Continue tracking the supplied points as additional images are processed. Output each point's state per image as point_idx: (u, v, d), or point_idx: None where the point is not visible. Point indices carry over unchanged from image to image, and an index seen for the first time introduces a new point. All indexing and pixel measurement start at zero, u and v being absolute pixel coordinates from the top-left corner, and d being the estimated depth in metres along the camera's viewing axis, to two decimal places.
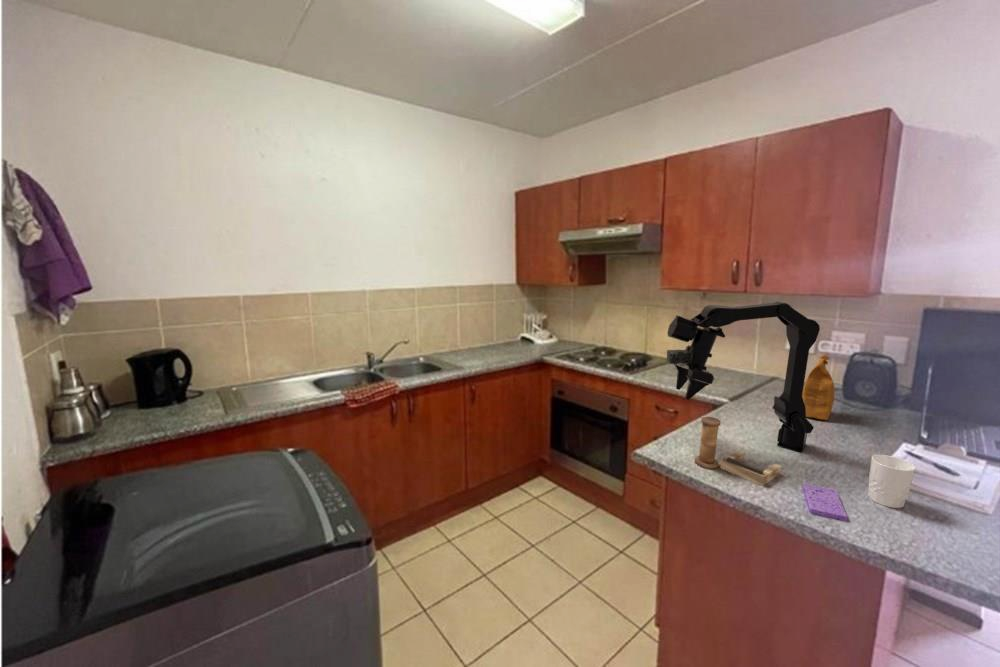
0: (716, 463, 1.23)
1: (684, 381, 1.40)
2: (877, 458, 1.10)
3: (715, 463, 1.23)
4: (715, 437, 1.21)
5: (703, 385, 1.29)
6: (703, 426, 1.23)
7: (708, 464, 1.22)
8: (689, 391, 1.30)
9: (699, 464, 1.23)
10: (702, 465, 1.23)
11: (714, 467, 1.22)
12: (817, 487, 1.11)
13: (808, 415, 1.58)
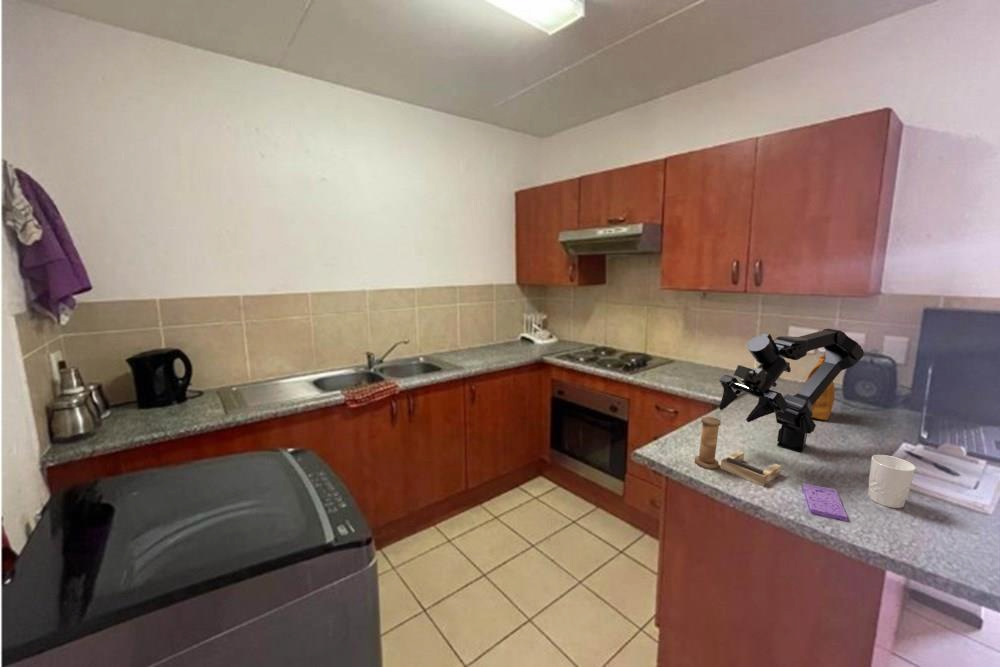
0: (716, 463, 1.23)
1: (728, 403, 1.30)
2: (877, 458, 1.10)
3: (715, 463, 1.23)
4: (715, 437, 1.21)
5: (769, 411, 1.20)
6: (703, 426, 1.23)
7: (708, 464, 1.22)
8: (755, 413, 1.20)
9: (699, 464, 1.23)
10: (702, 465, 1.23)
11: (714, 467, 1.22)
12: (817, 487, 1.11)
13: None
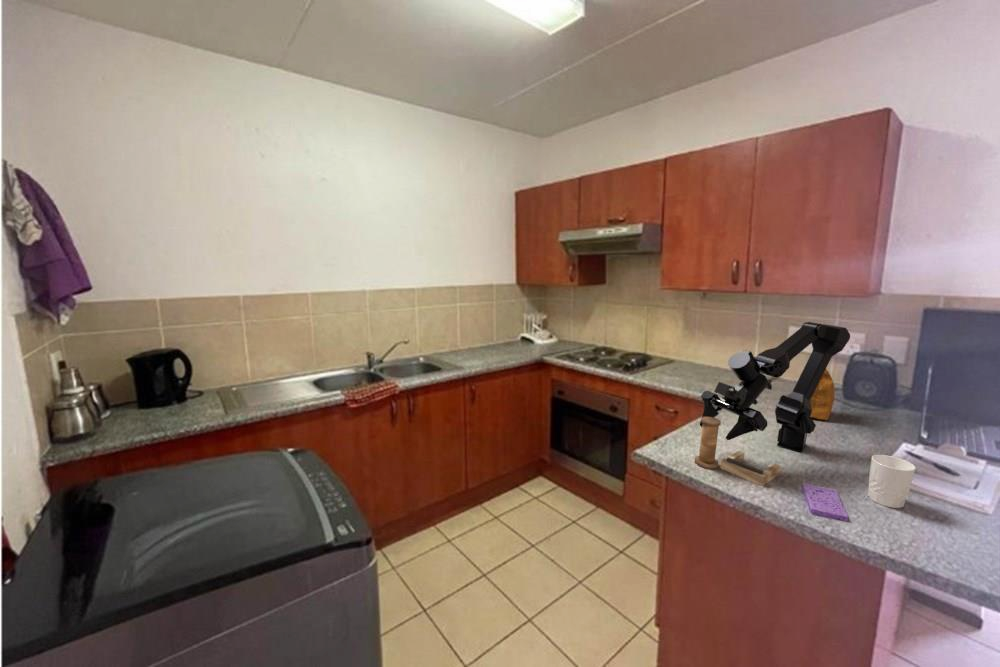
0: (716, 463, 1.23)
1: None
2: (877, 458, 1.10)
3: (715, 463, 1.23)
4: (715, 437, 1.22)
5: (749, 430, 1.19)
6: (703, 426, 1.23)
7: (708, 464, 1.22)
8: (734, 431, 1.19)
9: (699, 464, 1.23)
10: (702, 465, 1.23)
11: (714, 467, 1.22)
12: (817, 487, 1.11)
13: None
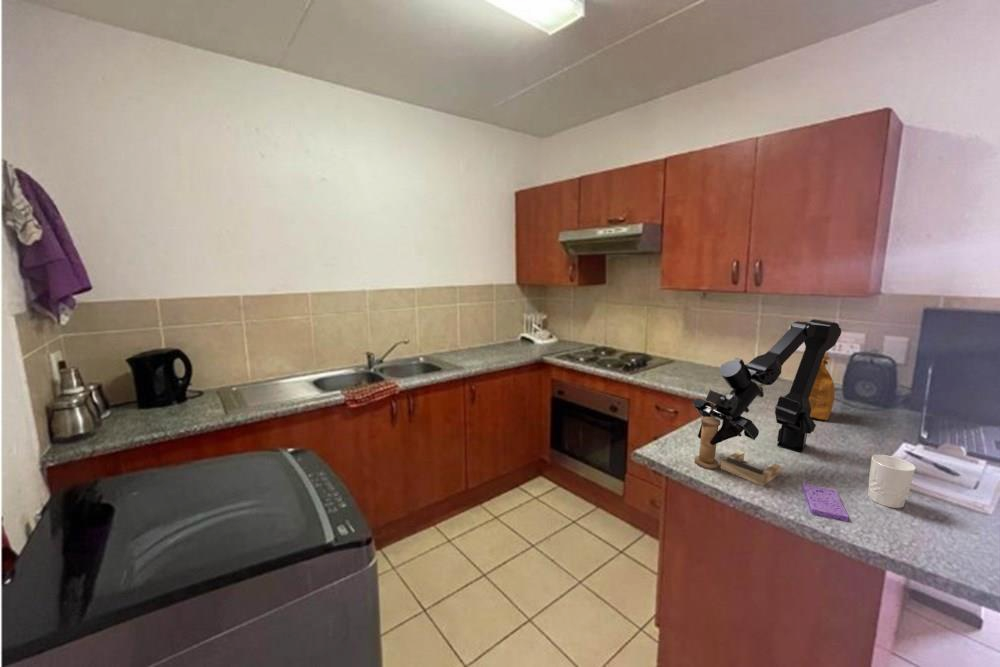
0: (716, 463, 1.23)
1: None
2: (877, 458, 1.10)
3: (715, 463, 1.23)
4: None
5: (733, 435, 1.21)
6: (703, 426, 1.23)
7: (708, 464, 1.22)
8: (718, 436, 1.20)
9: (699, 464, 1.23)
10: (702, 465, 1.23)
11: (714, 467, 1.22)
12: (817, 487, 1.11)
13: None
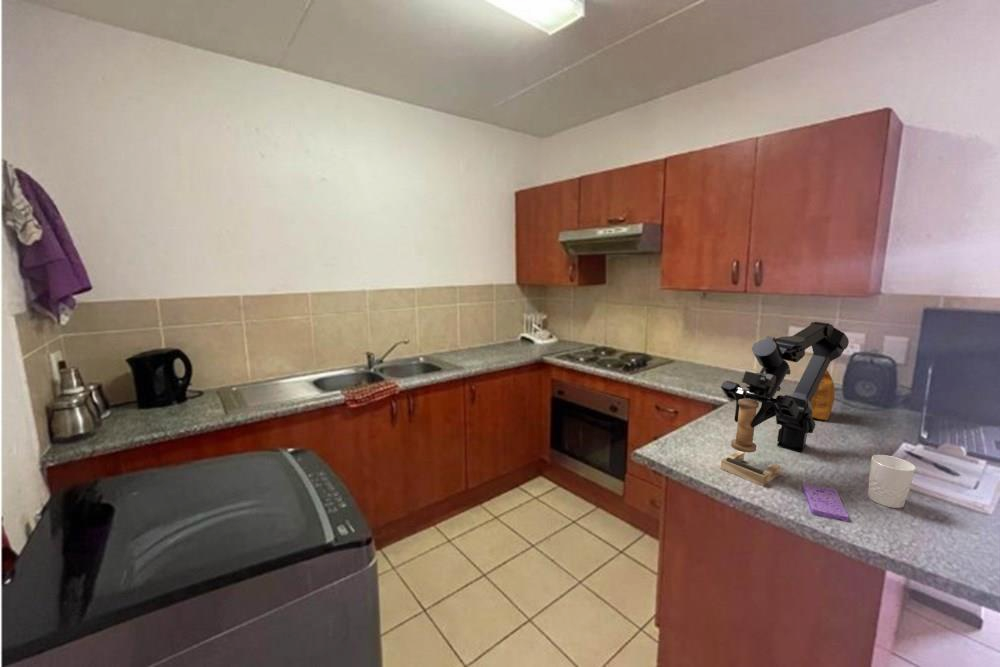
0: (754, 445, 1.20)
1: None
2: (877, 458, 1.10)
3: (753, 446, 1.20)
4: None
5: (771, 415, 1.18)
6: (741, 409, 1.18)
7: (748, 447, 1.19)
8: (759, 418, 1.17)
9: (739, 448, 1.19)
10: (742, 449, 1.19)
11: (754, 450, 1.19)
12: (817, 487, 1.11)
13: None
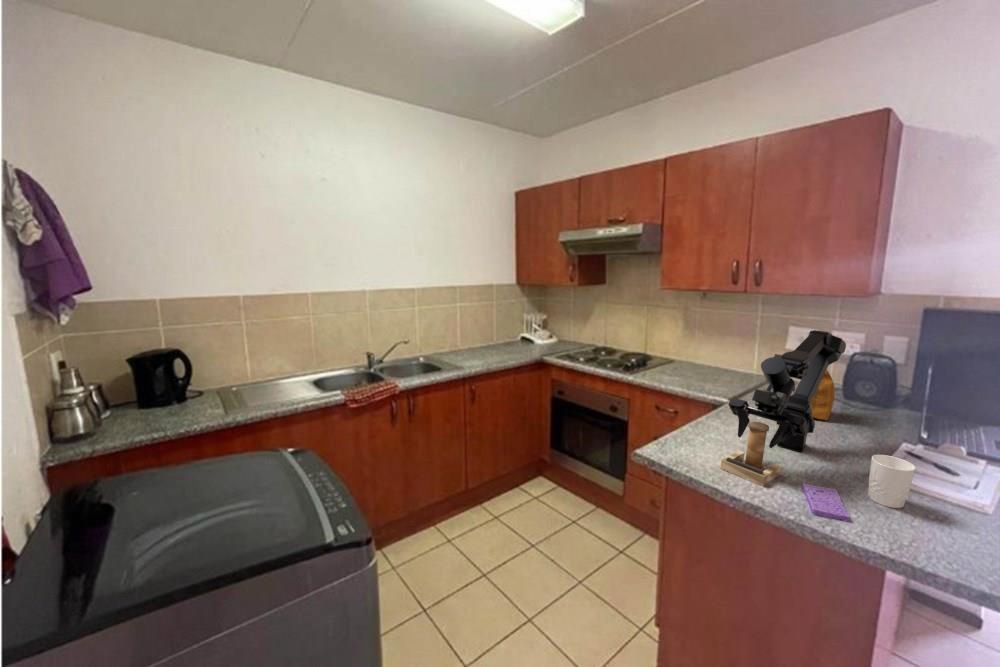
0: (763, 468, 1.21)
1: (744, 429, 1.24)
2: (877, 458, 1.10)
3: (763, 468, 1.20)
4: (764, 442, 1.19)
5: (788, 435, 1.17)
6: (752, 432, 1.19)
7: None
8: (777, 438, 1.16)
9: None
10: None
11: None
12: (817, 487, 1.11)
13: None
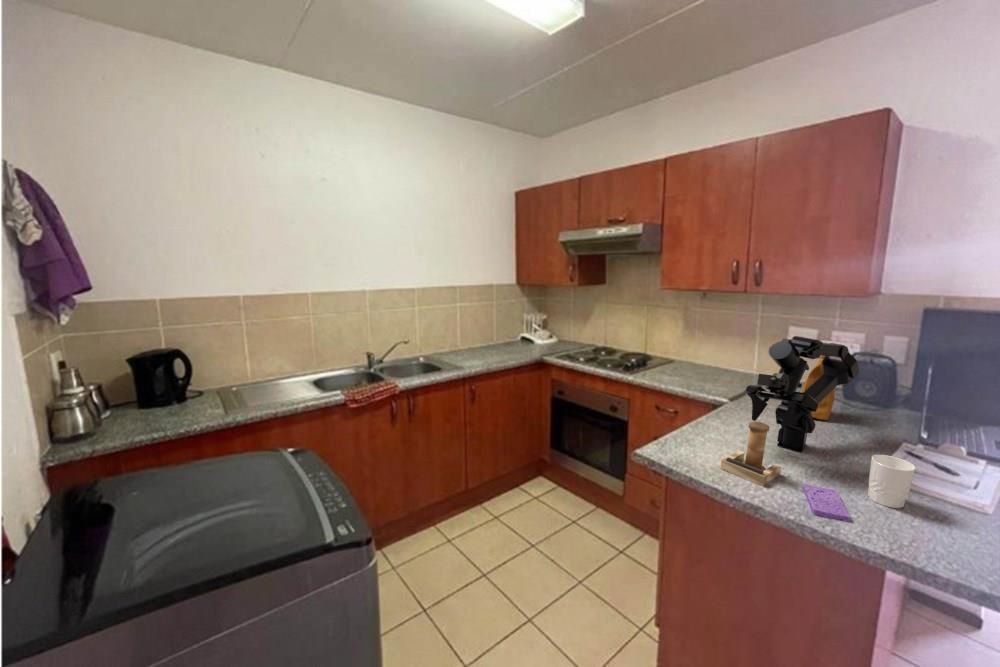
0: (763, 468, 1.21)
1: (759, 412, 1.31)
2: (877, 458, 1.10)
3: (763, 468, 1.20)
4: (764, 442, 1.19)
5: (802, 413, 1.21)
6: (752, 432, 1.19)
7: None
8: (788, 418, 1.21)
9: None
10: None
11: None
12: (817, 487, 1.11)
13: None
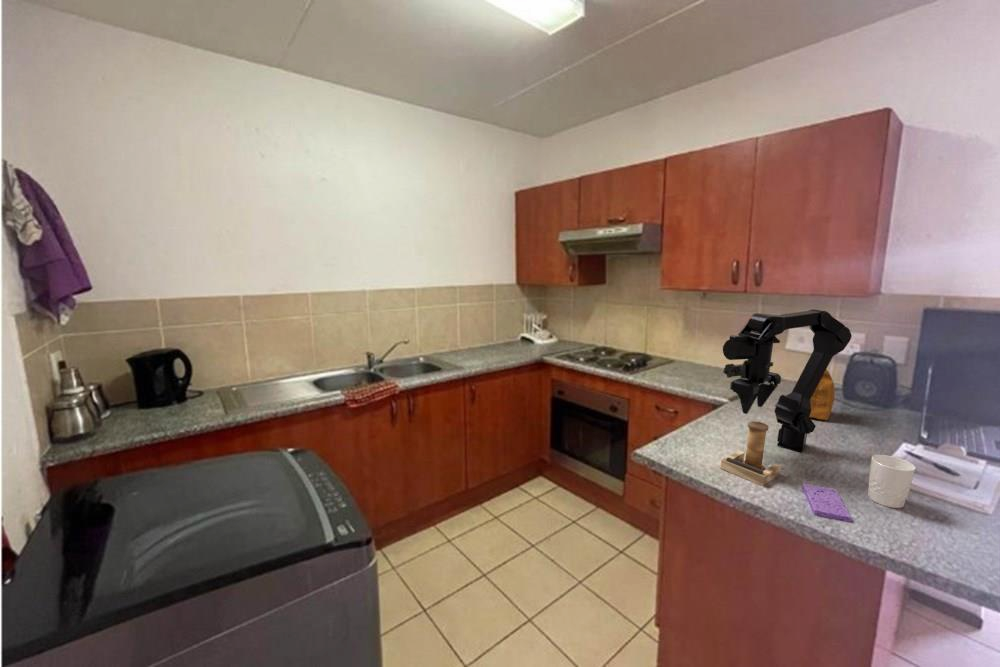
0: (763, 468, 1.21)
1: (764, 398, 1.31)
2: (877, 458, 1.10)
3: (763, 468, 1.20)
4: (764, 442, 1.19)
5: (752, 397, 1.24)
6: (752, 432, 1.19)
7: None
8: (742, 404, 1.27)
9: None
10: None
11: None
12: (817, 487, 1.11)
13: None
